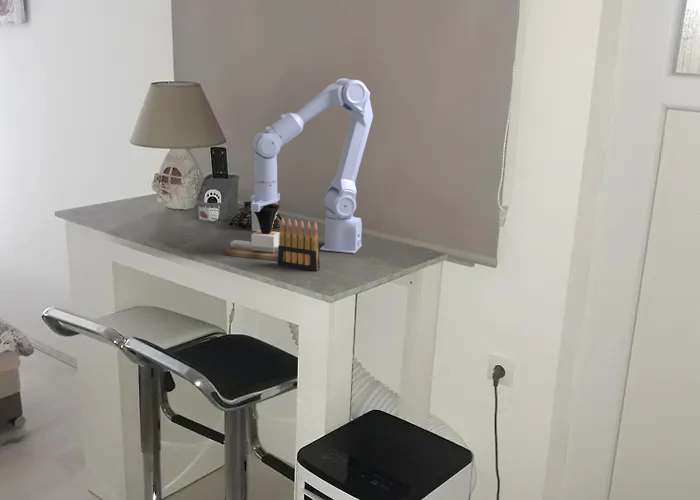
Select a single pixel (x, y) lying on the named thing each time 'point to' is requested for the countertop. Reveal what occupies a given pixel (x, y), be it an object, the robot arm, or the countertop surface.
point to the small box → (255, 221)
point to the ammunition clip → (298, 246)
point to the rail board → (251, 254)
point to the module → (265, 241)
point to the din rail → (245, 245)
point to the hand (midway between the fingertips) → (266, 233)
